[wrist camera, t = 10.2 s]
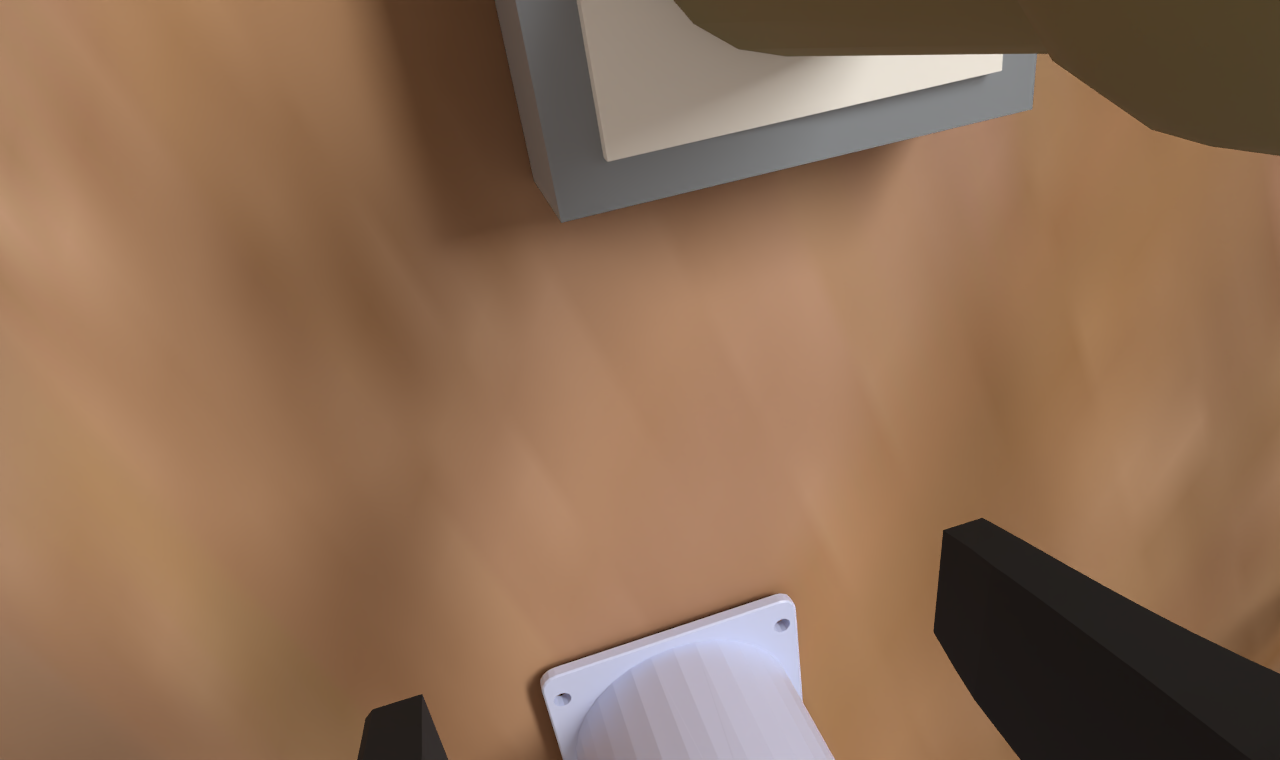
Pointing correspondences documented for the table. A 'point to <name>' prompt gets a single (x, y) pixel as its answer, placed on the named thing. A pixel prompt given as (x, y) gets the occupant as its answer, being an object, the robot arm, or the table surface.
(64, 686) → the table surface
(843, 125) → the plinth
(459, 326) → the table surface
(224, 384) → the table surface
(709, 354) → the table surface
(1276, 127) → the cork
